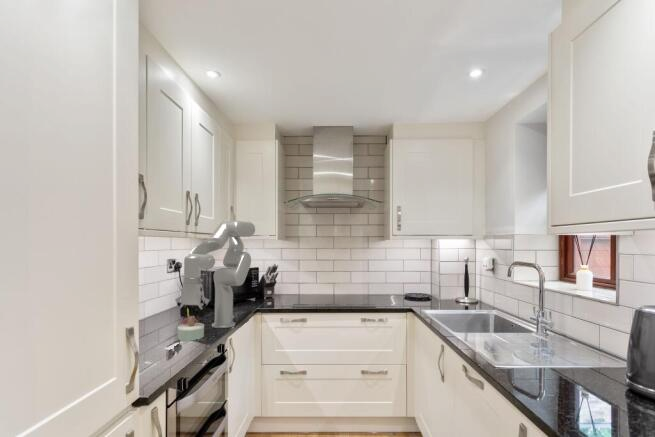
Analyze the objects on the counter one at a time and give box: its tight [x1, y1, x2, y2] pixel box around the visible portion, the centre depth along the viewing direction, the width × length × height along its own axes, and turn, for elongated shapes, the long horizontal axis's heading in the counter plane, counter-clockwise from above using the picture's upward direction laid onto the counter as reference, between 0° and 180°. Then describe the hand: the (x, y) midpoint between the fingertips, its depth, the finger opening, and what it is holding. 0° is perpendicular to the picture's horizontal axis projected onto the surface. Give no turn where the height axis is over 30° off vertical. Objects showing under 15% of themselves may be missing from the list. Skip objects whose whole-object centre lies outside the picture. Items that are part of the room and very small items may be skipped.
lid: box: [177, 315, 205, 331], centre depth 172 cm, size 12×12×5 cm
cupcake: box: [180, 307, 199, 325], centre depth 186 cm, size 9×8×12 cm
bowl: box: [177, 327, 205, 342], centre depth 172 cm, size 11×11×5 cm
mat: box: [163, 342, 180, 351], centre depth 158 cm, size 10×10×1 cm
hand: (192, 316), depth 173 cm, fingers open, 9 cm apart
